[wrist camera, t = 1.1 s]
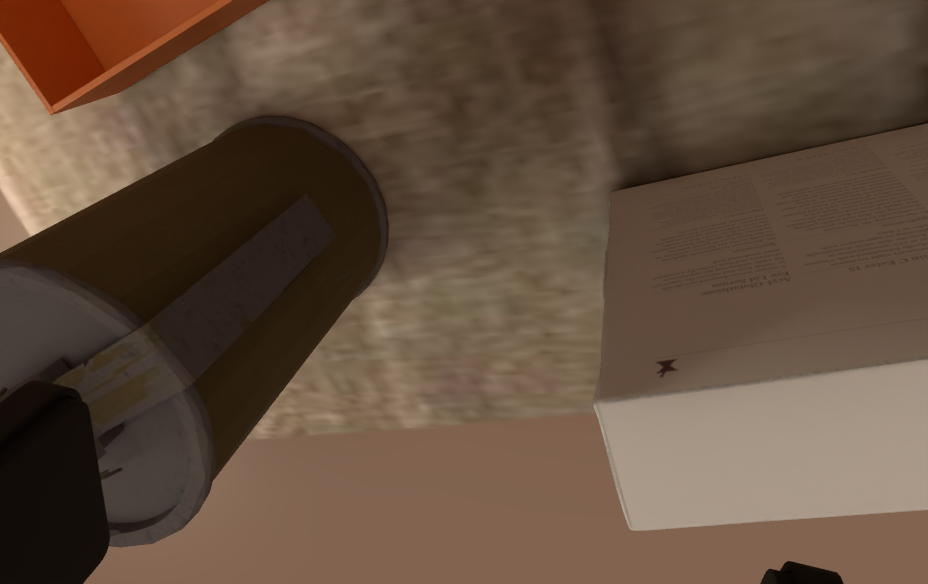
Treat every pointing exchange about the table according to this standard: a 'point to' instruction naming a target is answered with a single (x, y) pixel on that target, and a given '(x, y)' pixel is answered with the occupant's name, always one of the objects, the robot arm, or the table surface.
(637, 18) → the table surface
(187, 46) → the carton
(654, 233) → the skincare box
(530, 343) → the table surface
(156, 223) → the canister
